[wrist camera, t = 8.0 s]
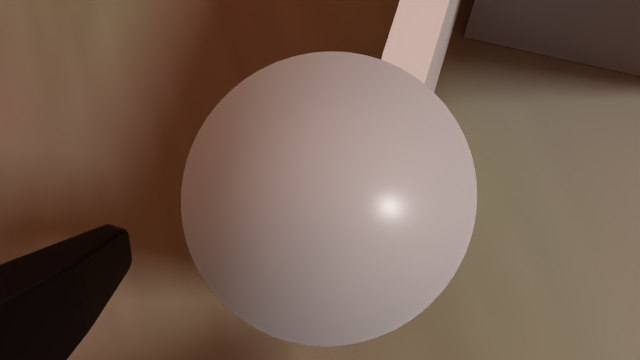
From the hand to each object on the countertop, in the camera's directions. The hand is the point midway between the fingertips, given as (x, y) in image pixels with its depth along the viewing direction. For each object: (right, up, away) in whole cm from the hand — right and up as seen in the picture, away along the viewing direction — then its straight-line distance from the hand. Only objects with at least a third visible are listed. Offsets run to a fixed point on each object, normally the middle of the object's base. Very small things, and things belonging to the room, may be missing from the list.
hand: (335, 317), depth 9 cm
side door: (+3, +5, +6) cm, 8 cm away
